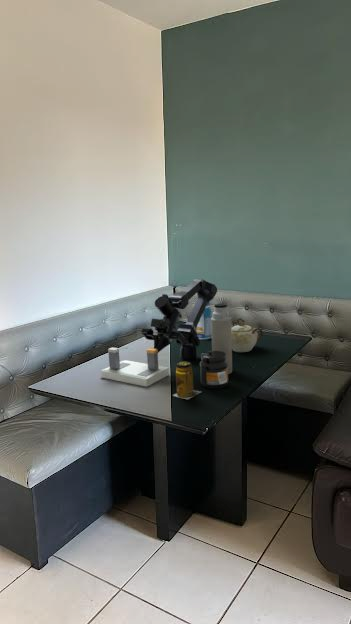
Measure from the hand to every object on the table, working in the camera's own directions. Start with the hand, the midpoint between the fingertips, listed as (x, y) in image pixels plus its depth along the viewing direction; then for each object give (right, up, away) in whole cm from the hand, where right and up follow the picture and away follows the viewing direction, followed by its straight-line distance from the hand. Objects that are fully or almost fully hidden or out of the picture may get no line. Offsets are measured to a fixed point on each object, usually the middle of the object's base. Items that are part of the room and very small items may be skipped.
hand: (154, 353), depth 198 cm
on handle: (-16, -6, +3) cm, 18 cm away
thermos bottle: (+27, -8, +3) cm, 29 cm away
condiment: (+13, -13, -19) cm, 26 cm away
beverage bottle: (+23, +3, +55) cm, 60 cm away
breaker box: (-8, -9, +3) cm, 13 cm away
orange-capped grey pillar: (-1, -6, 0) cm, 6 cm away
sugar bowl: (+39, -1, +31) cm, 50 cm away
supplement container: (+23, -11, -10) cm, 28 cm away
